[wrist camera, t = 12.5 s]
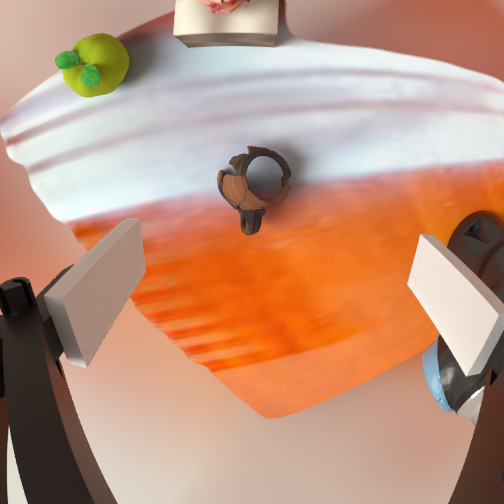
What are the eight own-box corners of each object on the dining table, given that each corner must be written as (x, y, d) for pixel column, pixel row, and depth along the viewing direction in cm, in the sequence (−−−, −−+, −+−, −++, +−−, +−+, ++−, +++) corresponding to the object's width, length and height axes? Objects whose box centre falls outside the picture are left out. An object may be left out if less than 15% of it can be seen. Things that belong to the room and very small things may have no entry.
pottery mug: (210, 152, 43) (230, 142, 36) (269, 152, 47) (297, 144, 39) (215, 235, 45) (235, 241, 38) (272, 229, 49) (301, 233, 41)
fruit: (114, 108, 40) (79, 110, 30) (77, 78, 37) (39, 76, 28) (151, 60, 36) (123, 49, 27) (111, 31, 34) (78, 18, 25)
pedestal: (277, -22, 30) (280, -46, 23) (275, 47, 36) (277, 33, 28) (194, -21, 31) (181, -43, 23) (188, 47, 36) (173, 34, 28)
